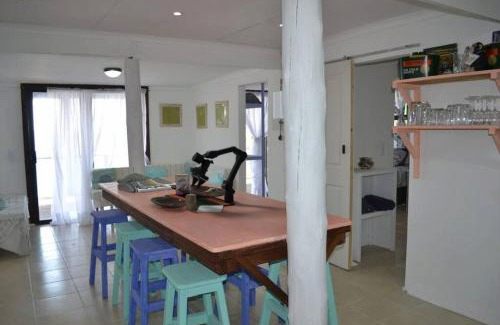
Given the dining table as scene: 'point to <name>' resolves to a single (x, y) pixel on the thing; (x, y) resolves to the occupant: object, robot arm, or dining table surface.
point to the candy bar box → (182, 182)
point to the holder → (156, 188)
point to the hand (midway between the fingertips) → (194, 187)
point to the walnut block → (190, 201)
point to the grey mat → (210, 209)
